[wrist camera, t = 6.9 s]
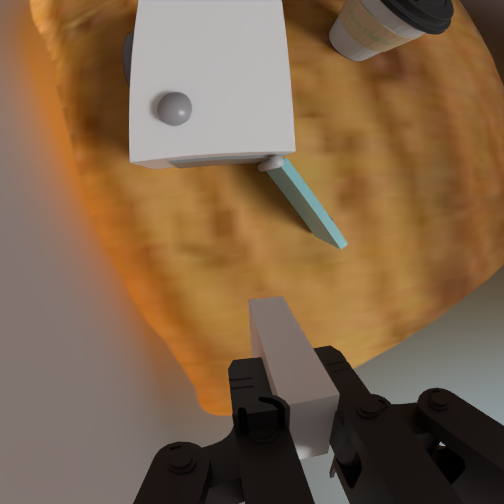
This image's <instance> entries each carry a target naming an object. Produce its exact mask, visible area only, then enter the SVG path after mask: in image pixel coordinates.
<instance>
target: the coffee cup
mask: <svg viewBox="0 0 504 504" xmlns="http://www.w3.org/2000/svg"><path fill="white" fill-rule="evenodd" d="M453 13H454V9H453V4H452V1H451V0H346V2H345V3H344V5H343V7H342V8H341V11H340V14H339V16H338V18H337V19H336V21H335V23H334V25H333V26H332V28H331V30H330V32H329V39H330V42H331V44H332V45H333V47H334V48H335V49H336V50H337V51H338V52H339V53H340V54H342V55H343V56H344V57H346V58H348V59H350V60H353V61H362V60H365V59H367V58H369V57H371V56H374V55H376V54H378V53H380V52H384V51H388V50H390V49H392V48H394V47H397V46H399V45H401V44H404V43H406V42H409V41H411V40H413V39H416V38H418V37H420V36H421V35H422V34H424V33H428V34H441V33H443V32H444V31H445V30H446V29H447V28H448V27H449V26H450V23H451V18H452V16H453Z"/></svg>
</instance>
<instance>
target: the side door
mask: <svg viewBox="0 0 504 504" xmlns="http://www.w3.org/2000/svg"><path fill="white" fill-rule="evenodd" d="M257 168H258V170H259V171H260V172H265V171H266V172H267V173H268V175H269V176H270V177H271V178H272V180H273V181H274V182H275V184H276V185H277V186H278V187H279V189H280V190H281V191H282V193H283V194H284V195H285V197H286V198H287V199H288V201H289V202H290V203H291V205H292V206H293V207H294V209H295V210H296V211H297V213H298V214H299V215H300V217H301V218H302V219H303V221H304V222H305V223H306V225H307V226H308V227H309V229H310V230H311V232H312V233H313V234H314V236H315V237H317V238H319V239H321V240H323V241H325V242H327V243H329V244H331V245H333V246H335V247H337V248H339V249H342V248H344V247H345V246H346V245H347V244H348V243H347V242H346V240H345V239H344V237H343V236H342V234H341V233H340V231H339V230H338V228H337V227H336V225H335V224H334V222H333V220H332V218H331V217H330V216H329V215H328V214H327V212H326V211H325V209H324V208H323V207H322V205H321V204H320V202H319V201H318V200H317V198H316V197H315V195H314V194H313V193H312V191H311V190H310V188H309V187H308V186H307V184H306V183H305V182H304V180H303V179H302V178H301V176H300V175H299V174H298V172H297V171H296V170H295V168H294V167H293V166H292V164H291V163H290V162H289V160H288V159H287V158H284V159H283V158H282V157H281V156H280V155H275V156H273V157H271V158H269V159H267V160H265V161H263V162H261V163H259V164H258V166H257Z"/></svg>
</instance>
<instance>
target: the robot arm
mask: <svg viewBox="0 0 504 504" xmlns="http://www.w3.org/2000/svg"><path fill="white" fill-rule="evenodd" d="M248 301H249V317H250V333H251V349H252V355H253V358H248V359H239V360H233V361H232V363H231V365H230V367H229V368H228V374H229V384H230V393H231V401H232V410H233V414H232V417H233V423H234V426H233V429H232V431H231V433H230V434H229V435H228V436H227V437H226V438H224V439H223V440H222V441H220V442H217V443H215V444H213V445H209V446H206V447H203V448H201V447H200V446H198V445H196V444H193V443H190V442H175V443H171V444H168V445H166V446H165V447H163V448H161V449H160V450H159V451H158V453H157V454H156V455H155V457H154V459H153V461H152V463H151V465H150V468H149V470H148V472H147V474H146V477H145V479H144V481H143V483H142V485H141V488H140V490H139V492H138V494H137V496H136V499H135V501H134V503H133V504H239V503H242V502H244V501H245V504H315V503H314V500H313V497H312V494H311V491H310V489H309V486H308V483H307V480H306V477H305V474H304V471H303V468H302V465H301V462H300V460H301V459H305V458H310V457H314V456H318V455H323V454H326V453H328V450H329V445H331V447H332V449H333V451H334V454H335V455H334V459H333V462H332V466H331V469H330V478H332V477H334V474H335V471H336V473H337V475H338V478H339V479H340V482H341V485H342V487H343V489H344V491H345V494H346V496H347V498H348V500H349V503H350V504H504V426H503V425H502V424H500V423H499V422H497V421H495V420H494V419H492V418H491V417H489V416H487V415H486V414H484V413H483V412H481V411H480V410H478V409H477V408H475V407H474V406H472V405H471V404H469V403H467V402H466V401H464V400H463V399H461V398H459V397H458V396H457V395H455V394H454V393H452V392H450V391H448V390H445V389H441V388H432V389H428V390H426V391H424V392H423V393H422V394H421V395H420V396H419V398H418V401H417V403H408V404H391V403H390V402H389V401H388V400H387V399H385V398H383V397H382V396H379V395H375V394H370V392H369V391H368V389H367V388H366V387H365V385H364V384H363V382H362V381H361V380H360V378H359V377H358V375H357V374H356V373H355V371H354V370H353V369H352V367H351V366H350V364H349V363H348V362H347V360H346V359H345V357H344V356H343V355H342V353H341V352H340V351H338V350H337V349H335V348H333V347H332V346H324V347H319V348H312V346H311V344H310V343H309V341H308V339H307V337H306V336H305V334H304V332H303V331H302V329H301V327H300V326H299V324H298V322H297V320H296V319H295V317H294V315H293V314H292V312H291V310H290V309H289V307H288V305H287V303H286V302H285V300H284V298H283V297H282V296H281V297H272V298H262V299H252V300H248ZM440 442H442V443H443V444H444V445H446V446H440V445H439V443H440Z"/></svg>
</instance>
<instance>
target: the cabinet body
mask: <svg viewBox="0 0 504 504" xmlns="http://www.w3.org/2000/svg"><path fill="white" fill-rule="evenodd" d="M123 67H124V74H125V78H126V81H127V84H128V86H129V88H130V100H129V153H130V163H134V164H137V165H141V166H144V167H148V168H151V169H162V168H171V167H177V168H188V167H200V166H214V165H231V164H253V163H258V162H263V161H265V160H267V159H269V158H271V157H273V156H275V155H280V156H281V157H283V156H286V155H288V154H290V153H293V152H295V136H294V120H293V106H292V93H291V81H290V70H289V59H288V49H287V40H286V31H285V22H284V14H283V6H282V0H139V2H138V8H137V15H136V23H135V31H134V32H129V33H128V34H127V35H126V37H125V41H124V46H123Z"/></svg>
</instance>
